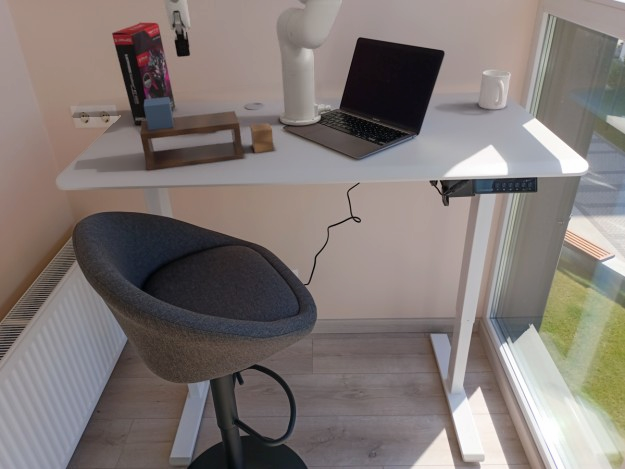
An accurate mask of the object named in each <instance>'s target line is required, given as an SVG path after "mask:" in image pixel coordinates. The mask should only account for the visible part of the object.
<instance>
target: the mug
mask: <svg viewBox="0 0 625 469" xmlns="http://www.w3.org/2000/svg"><path fill="white" fill-rule="evenodd" d="M511 76H512V74H511V72H509V71H507V70H503V69H487V70H483V71H482V75H481V80H480V81H481V82H480V89H479V95H478V106H479V107H480V108H482V109H485V110H494V111H496V110H502V109H503V108H505V107H506V105H507V99H508V94H509V87H510V81H511Z"/></svg>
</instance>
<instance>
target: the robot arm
mask: <svg viewBox="0 0 625 469" xmlns="http://www.w3.org/2000/svg"><path fill="white" fill-rule="evenodd" d="M343 1H344V0H298V2H300V3H301V4H303V5H305V7H304V8H300V7H295V6H293V7H289V8H286V9H284V10H283V11H282V12H281V13H280V14H279V16H278V18H277V20H276V36H277V41H278V45H279V51H280V60H281V78H282V93H283V108H284V109H283V110H284V112H282V113H281V114H280V115H279V121H280V122H281V123H282V124H284V125H289V126H308V125H313V124H316V123H318V122H319V121H321V119H322V116H321V113H323V112H324V113H326V112H331V111H332V106H331V104H325V103H322V104H321V103H320V104H318V103H317V102H316V76H315V55H314V50H316V49H319V48H320V47H321V46H323V44H324V43H325V42H326V41H327V39H328V37H329V35H330V32H331V30H332V28H333V25H334V23H335V21H336V18H337V16H338V14H339V11H340V8H341V6H342V4H343ZM163 2H164V5H165V6H164V7H165V11H166V15H167V19H168V23H169V28H170V30H172V31H173V34H174V47H175V51H176V56H177V57H178V58H182V57H183V58H184V57H190V56H191V51H190V42H189V34H188V32H187V30H190V29H191V27H192V25H191V18H190V13H189V12H190V11H189V4H188V0H163ZM186 28H187V29H186Z"/></svg>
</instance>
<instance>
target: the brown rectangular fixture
mask: <svg viewBox="0 0 625 469" xmlns="http://www.w3.org/2000/svg"><path fill="white" fill-rule="evenodd" d="M173 123H174V127H173V128H165V129H156V130H149V129H148V124H147V121H142V123H141V125H140V130H139V135H140V140H141V145H142V150H143V154H144V159H145V162H146V167H147V170H148V171H151V170H159V169H166V168H167V169H168V168H174V167H183V166H184V167H185V166H192V165H200V164H206V163H207V164H208V163H216V162H222V161H223V162H225V161H230V160H239V159H244V154H243V144H242V137H241V128H240V121H239V119H238V116H237V113H236V112H235V110H232V111H224V112H213V113H205V114H204V113H203V114H196V115H185V116H177V117H173ZM228 130H229V131H231V140H232V141H230V142H221V143H212V144H205V145H204V144H203V145H197V146H188V147H178V148H170V149H164V150H163V149H162V150H154V145H153V140H154V139H160V138H161V139H162V138H168V137H178V136H186V135H195V134H196V135H197V134H205V133H211V132H221V131H228Z"/></svg>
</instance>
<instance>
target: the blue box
mask: <svg viewBox="0 0 625 469" xmlns="http://www.w3.org/2000/svg"><path fill="white" fill-rule="evenodd" d="M144 110H145V115H146V120H147V124H148V129H149V130H156V129H165V128H173V127H174V123H173V118H174V115H173V110H171V104H170V99H169V97H164V98H154V99H145V101H144Z"/></svg>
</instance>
